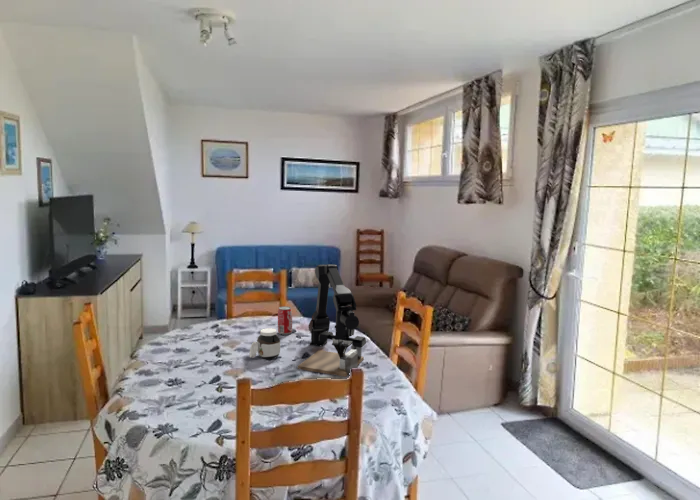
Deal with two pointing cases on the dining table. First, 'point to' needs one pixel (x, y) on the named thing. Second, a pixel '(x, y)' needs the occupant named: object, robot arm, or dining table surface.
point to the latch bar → (343, 359)
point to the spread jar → (266, 345)
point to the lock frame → (330, 363)
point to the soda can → (284, 320)
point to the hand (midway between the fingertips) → (341, 359)
